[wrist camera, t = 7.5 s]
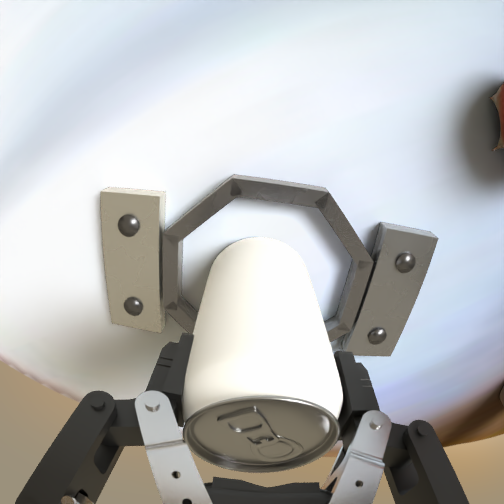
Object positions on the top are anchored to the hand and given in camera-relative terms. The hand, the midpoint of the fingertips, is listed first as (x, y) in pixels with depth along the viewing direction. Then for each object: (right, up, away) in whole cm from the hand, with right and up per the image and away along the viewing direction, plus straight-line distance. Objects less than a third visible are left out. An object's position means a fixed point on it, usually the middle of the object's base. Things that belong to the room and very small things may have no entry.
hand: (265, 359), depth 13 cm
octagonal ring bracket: (0, +3, +7) cm, 8 cm away
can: (0, +3, +7) cm, 8 cm away
